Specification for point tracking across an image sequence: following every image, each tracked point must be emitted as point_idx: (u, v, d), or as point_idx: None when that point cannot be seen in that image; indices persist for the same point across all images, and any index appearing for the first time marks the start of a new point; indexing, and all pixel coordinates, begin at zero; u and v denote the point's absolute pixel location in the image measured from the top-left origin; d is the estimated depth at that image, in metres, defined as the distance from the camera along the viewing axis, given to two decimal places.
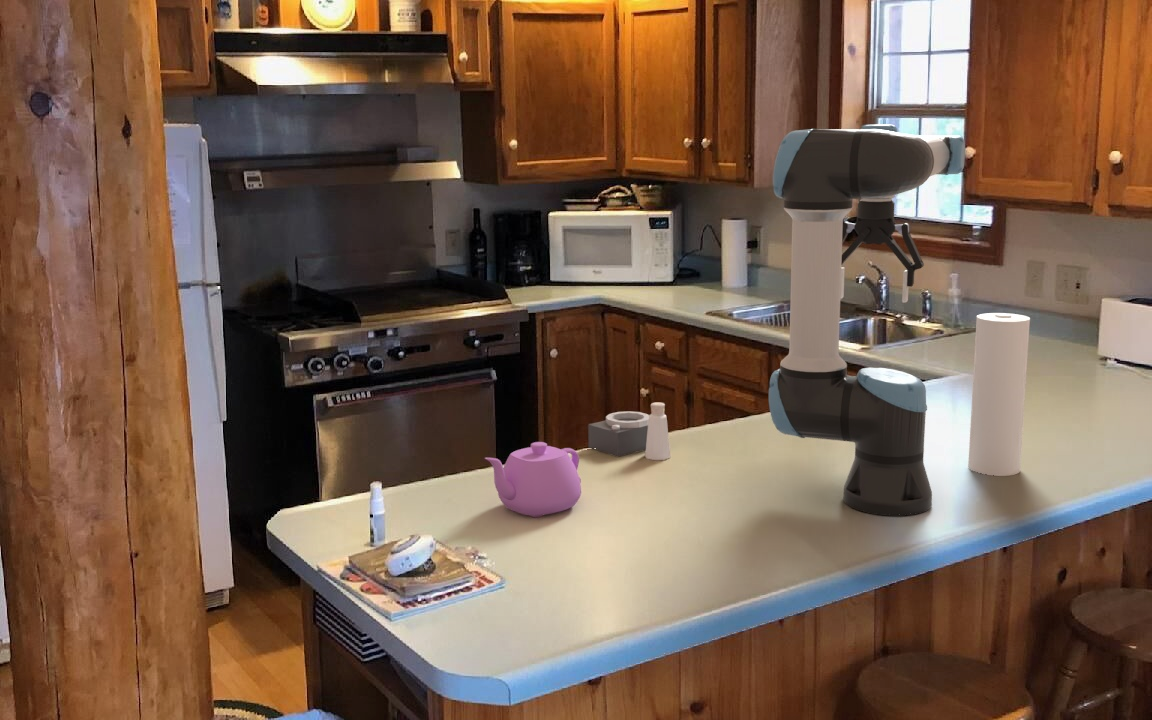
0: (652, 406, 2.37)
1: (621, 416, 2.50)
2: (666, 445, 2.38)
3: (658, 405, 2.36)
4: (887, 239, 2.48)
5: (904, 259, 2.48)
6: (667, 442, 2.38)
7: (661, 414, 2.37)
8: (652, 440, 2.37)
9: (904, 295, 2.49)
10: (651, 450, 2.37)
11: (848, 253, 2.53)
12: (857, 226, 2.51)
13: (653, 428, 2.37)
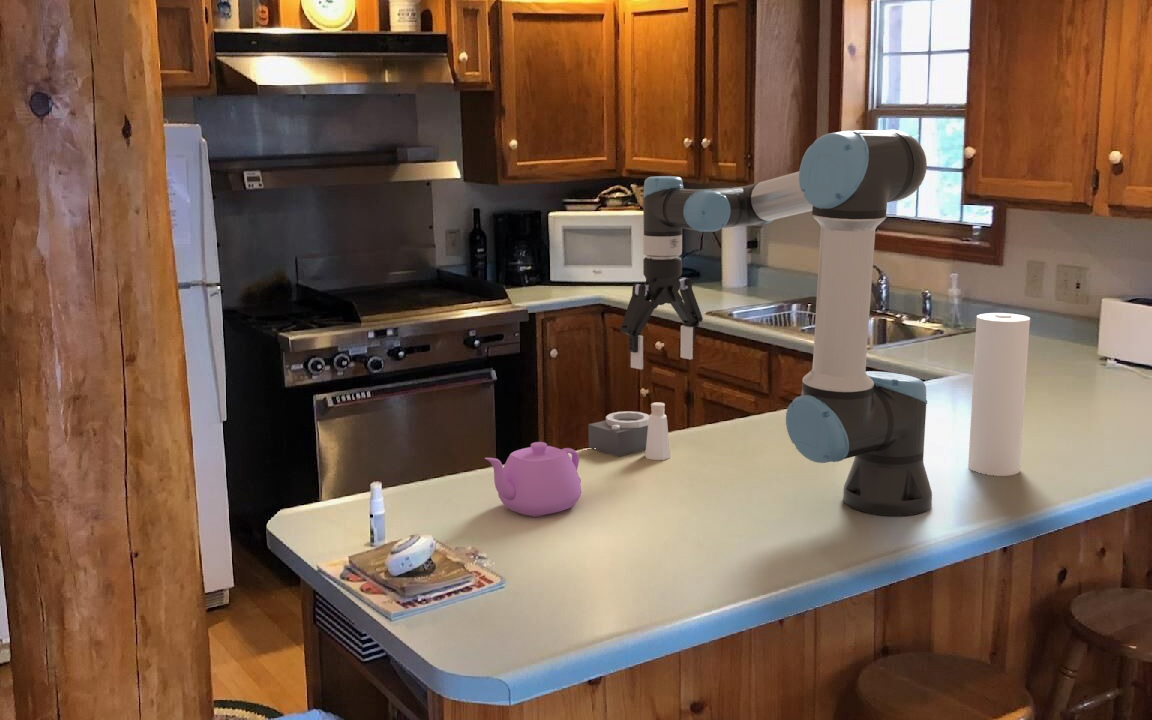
0: (652, 406, 2.37)
1: (621, 416, 2.50)
2: (666, 445, 2.38)
3: (658, 405, 2.36)
4: None
5: None
6: (667, 442, 2.38)
7: (661, 414, 2.37)
8: (652, 440, 2.37)
9: None
10: (651, 450, 2.37)
11: None
12: None
13: (653, 428, 2.37)
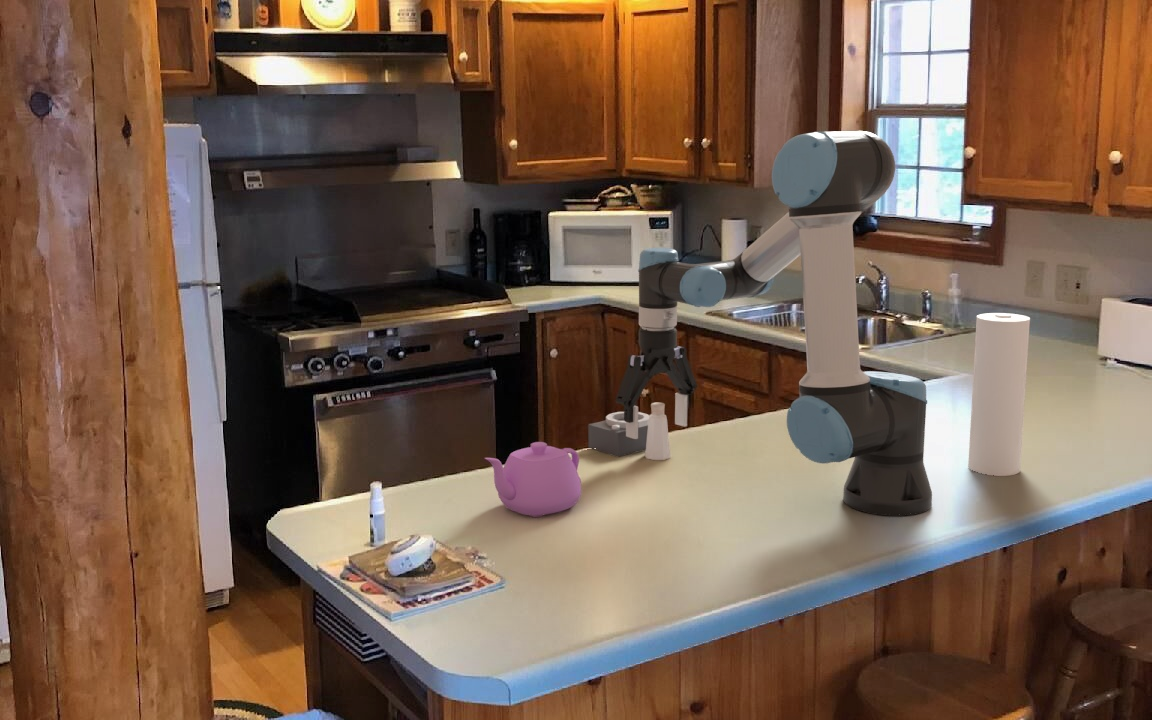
0: (652, 406, 2.37)
1: (621, 416, 2.50)
2: (666, 445, 2.38)
3: (658, 405, 2.36)
4: None
5: None
6: (667, 442, 2.38)
7: (661, 414, 2.37)
8: (652, 440, 2.37)
9: None
10: (651, 450, 2.37)
11: None
12: None
13: (653, 428, 2.37)
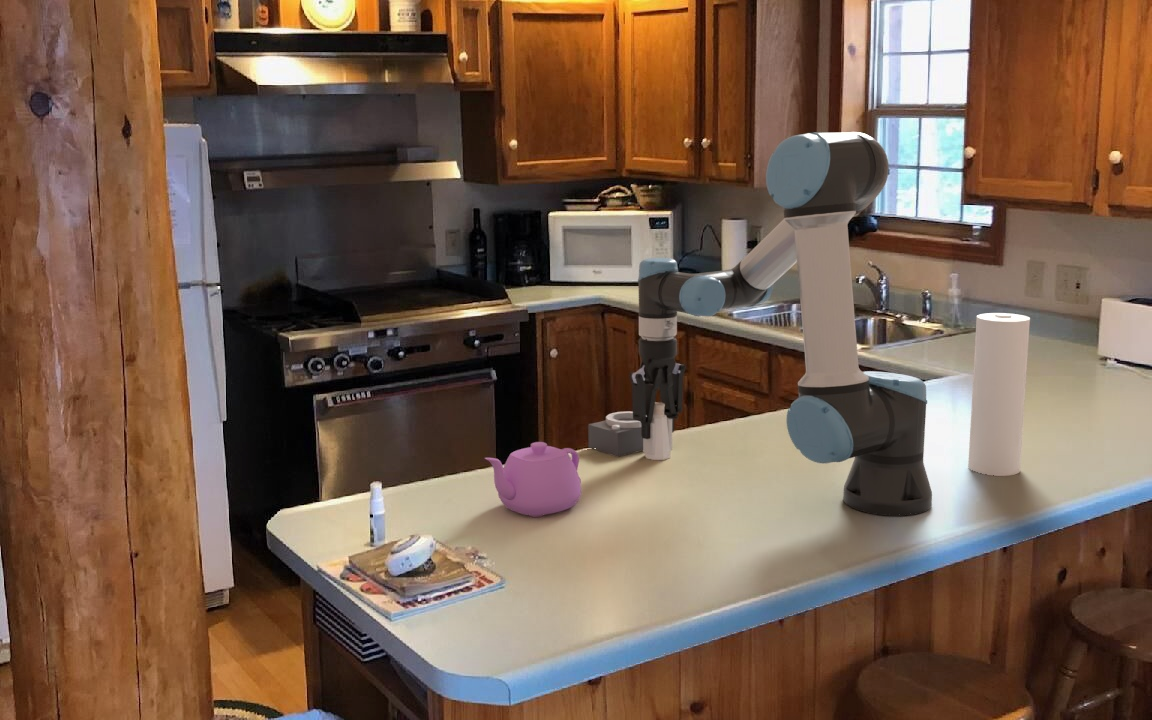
0: None
1: (621, 416, 2.50)
2: (666, 445, 2.38)
3: (658, 405, 2.36)
4: None
5: None
6: (667, 442, 2.38)
7: (661, 414, 2.37)
8: None
9: None
10: None
11: None
12: None
13: None
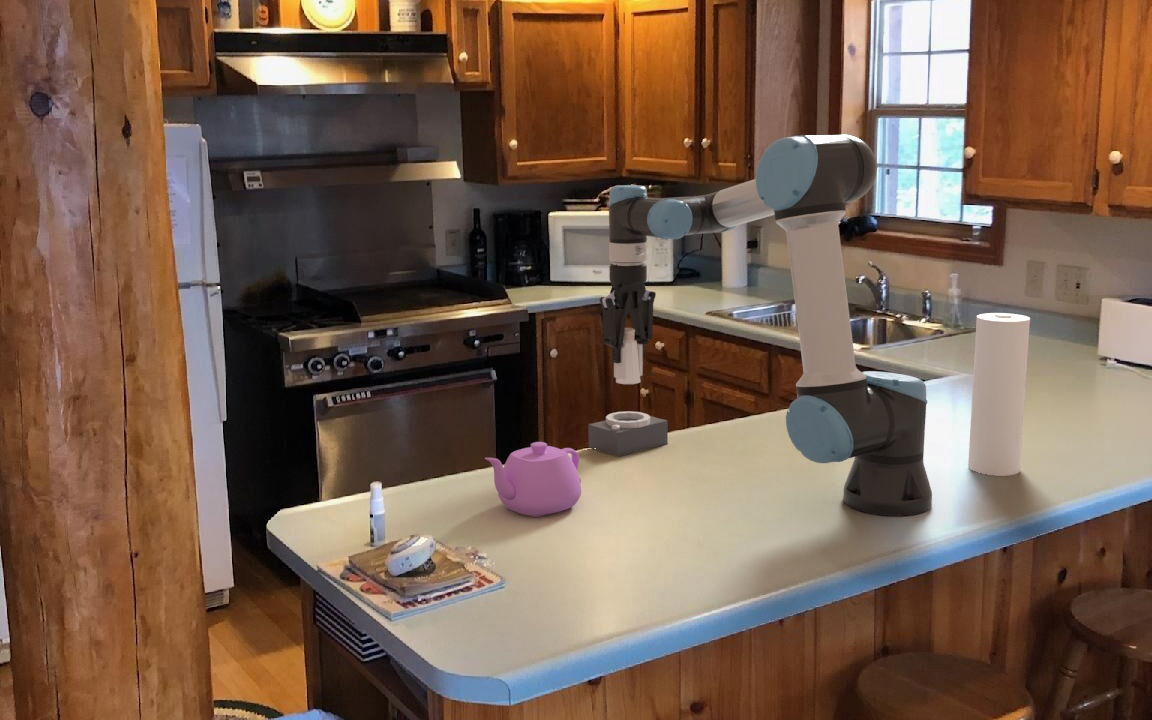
0: None
1: (621, 416, 2.50)
2: (636, 369, 2.43)
3: (628, 330, 2.41)
4: None
5: None
6: (637, 367, 2.43)
7: (631, 339, 2.42)
8: None
9: None
10: None
11: None
12: None
13: None
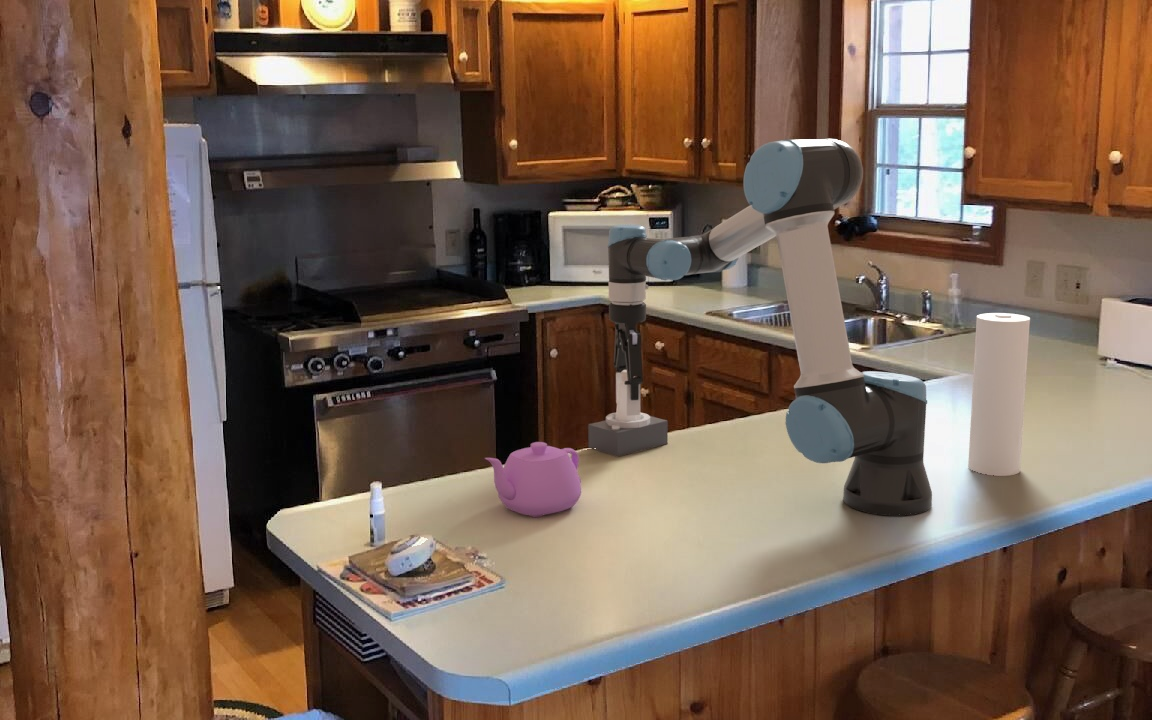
0: None
1: None
2: None
3: None
4: (622, 345, 2.40)
5: (627, 370, 2.39)
6: None
7: None
8: None
9: (627, 407, 2.40)
10: (633, 416, 2.44)
11: (617, 356, 2.48)
12: (618, 326, 2.46)
13: None
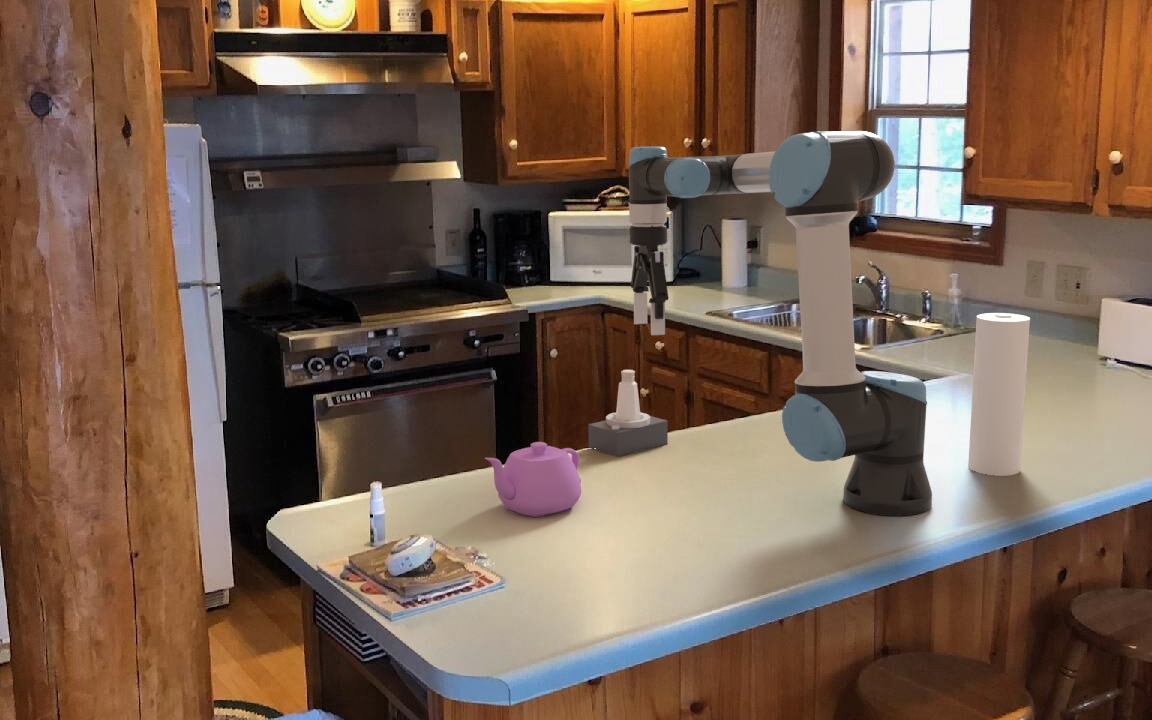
0: (628, 374, 2.43)
1: None
2: None
3: (632, 371, 2.44)
4: (644, 266, 2.37)
5: (651, 289, 2.35)
6: None
7: (633, 380, 2.45)
8: (633, 406, 2.44)
9: (651, 327, 2.36)
10: (633, 416, 2.44)
11: (636, 278, 2.46)
12: (639, 251, 2.43)
13: (633, 394, 2.44)
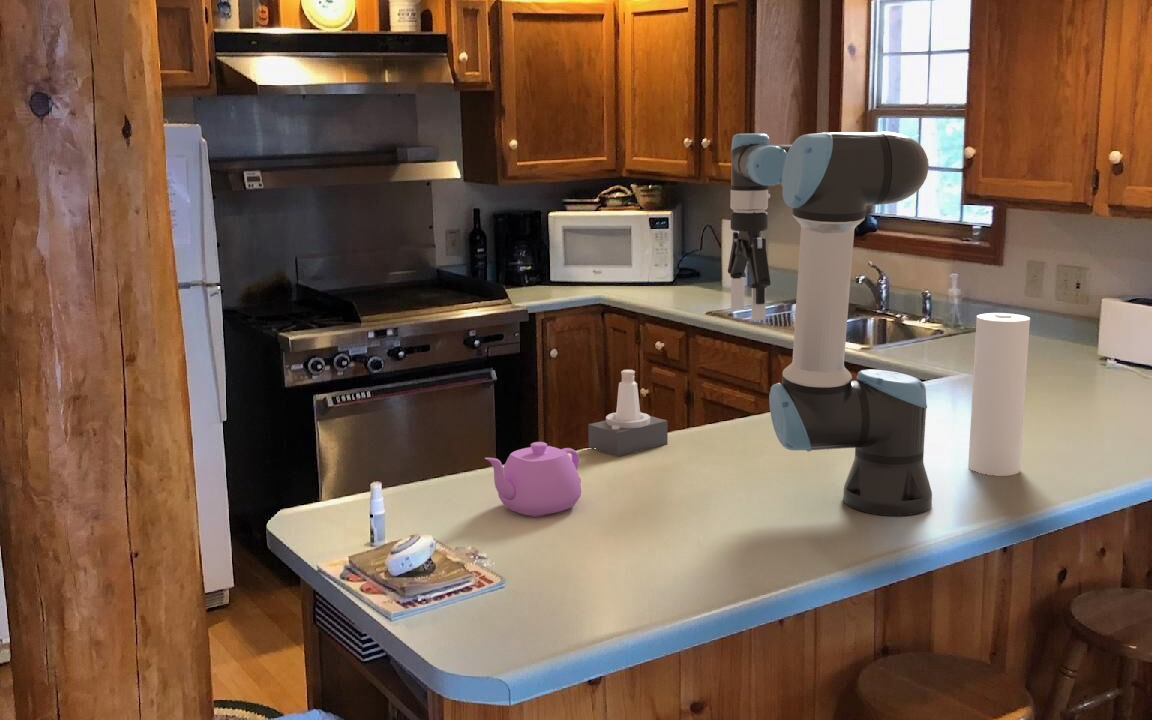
0: (628, 374, 2.43)
1: None
2: None
3: (632, 371, 2.44)
4: (745, 252, 2.40)
5: (752, 274, 2.37)
6: None
7: (633, 380, 2.45)
8: (633, 406, 2.44)
9: (752, 312, 2.39)
10: (633, 416, 2.44)
11: (735, 263, 2.49)
12: (738, 236, 2.46)
13: (633, 394, 2.44)
